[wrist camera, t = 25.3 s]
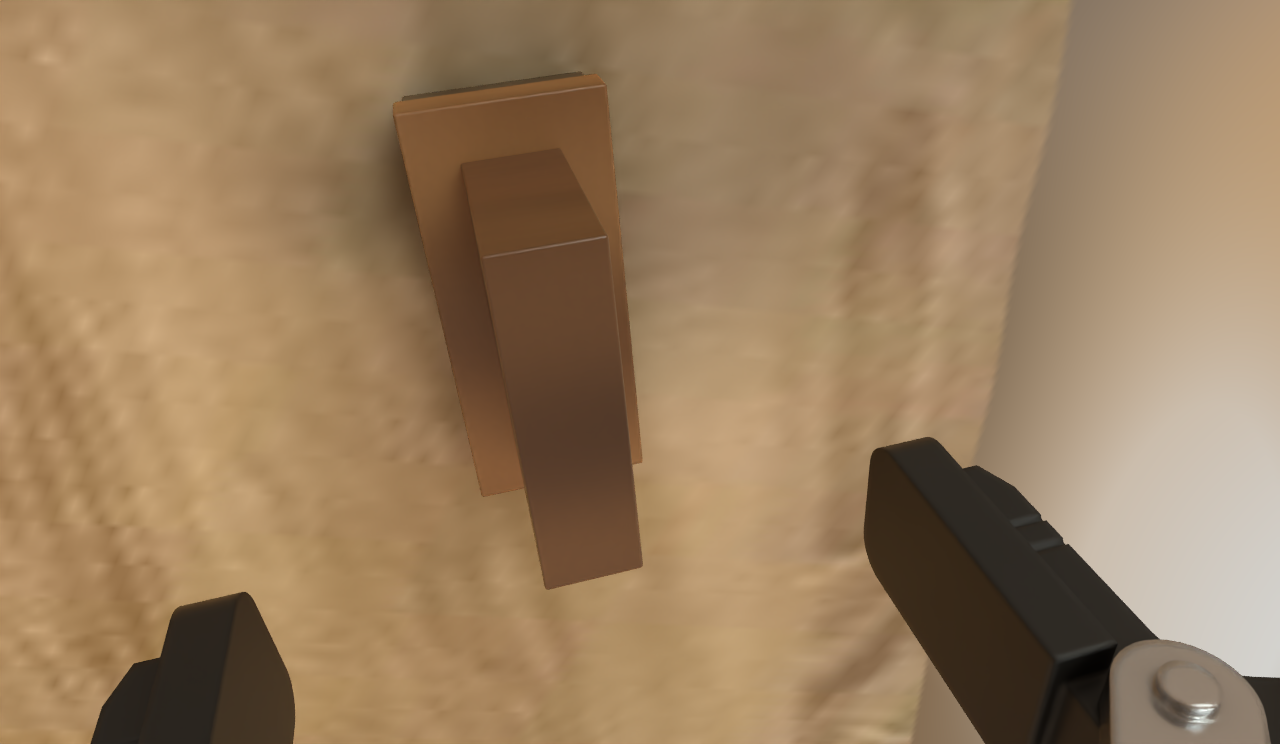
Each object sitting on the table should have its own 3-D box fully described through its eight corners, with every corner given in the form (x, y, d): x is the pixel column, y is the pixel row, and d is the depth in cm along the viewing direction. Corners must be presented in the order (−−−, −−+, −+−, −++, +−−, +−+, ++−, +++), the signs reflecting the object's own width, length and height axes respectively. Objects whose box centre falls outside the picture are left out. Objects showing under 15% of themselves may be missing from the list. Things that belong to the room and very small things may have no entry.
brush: (392, 88, 19) (393, 200, 14) (587, 61, 20) (670, 156, 14) (475, 450, 25) (502, 641, 19) (625, 419, 26) (695, 593, 20)
